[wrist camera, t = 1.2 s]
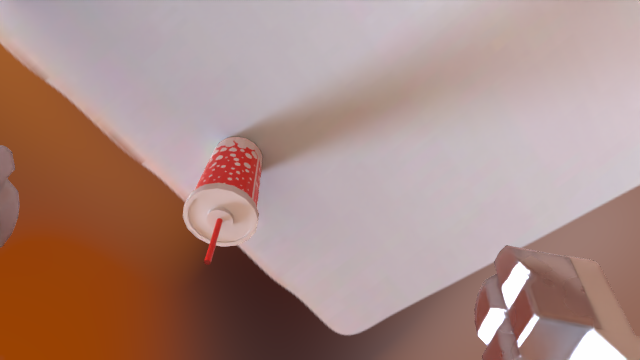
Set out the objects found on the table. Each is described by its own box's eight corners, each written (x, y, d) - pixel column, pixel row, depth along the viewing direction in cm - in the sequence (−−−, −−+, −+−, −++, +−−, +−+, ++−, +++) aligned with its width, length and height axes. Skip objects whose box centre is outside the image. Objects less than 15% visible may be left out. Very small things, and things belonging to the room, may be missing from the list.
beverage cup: (193, 140, 52) (150, 243, 41) (253, 121, 51) (225, 221, 39) (224, 190, 55) (191, 298, 44) (281, 173, 54) (262, 280, 43)
